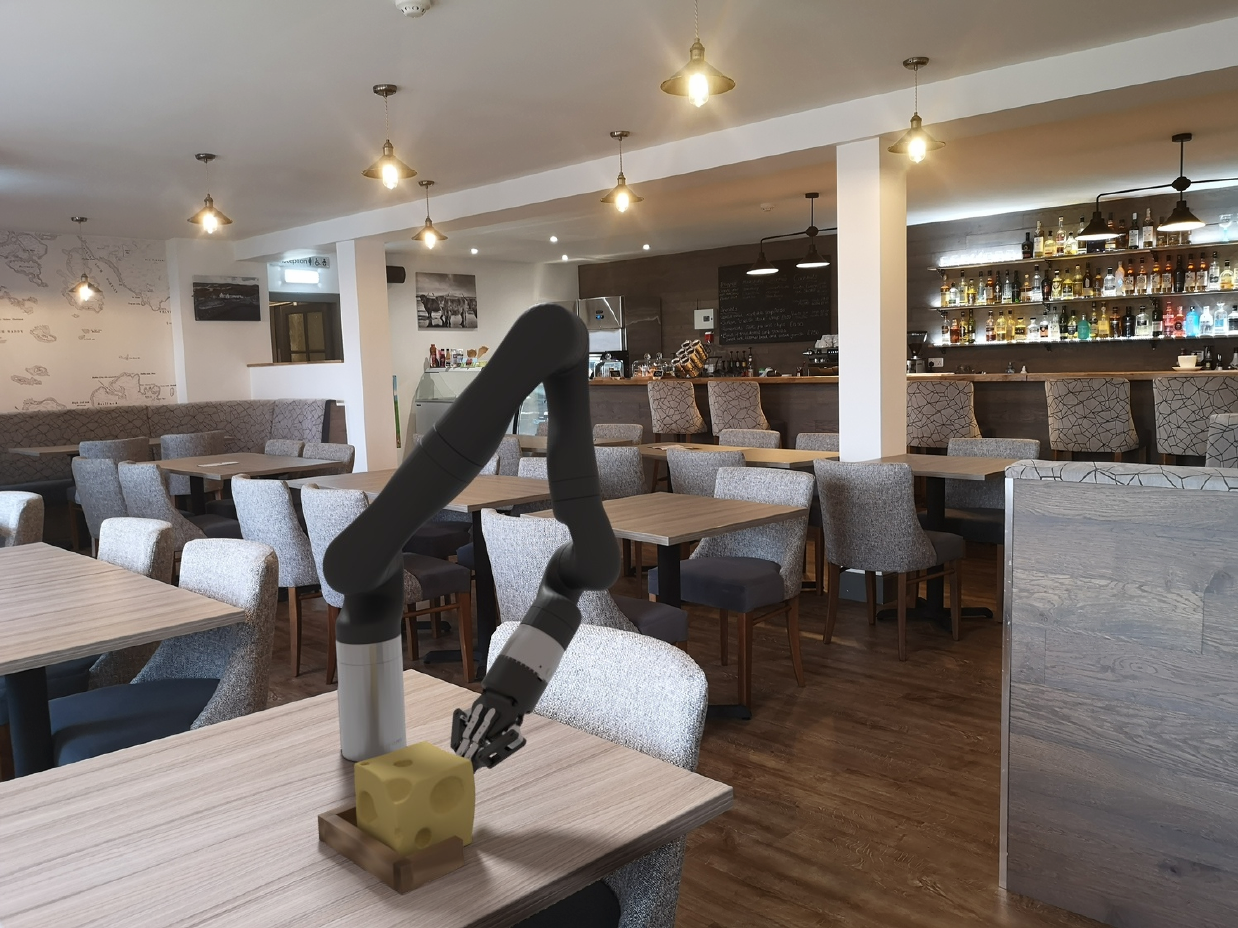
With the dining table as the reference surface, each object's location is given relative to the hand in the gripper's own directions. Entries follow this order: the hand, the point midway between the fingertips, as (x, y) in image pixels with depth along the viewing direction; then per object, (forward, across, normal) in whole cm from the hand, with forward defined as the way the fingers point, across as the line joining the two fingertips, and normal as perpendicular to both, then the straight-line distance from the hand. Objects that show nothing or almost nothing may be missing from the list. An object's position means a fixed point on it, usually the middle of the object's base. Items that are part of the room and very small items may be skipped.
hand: (450, 791), depth 113 cm
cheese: (+7, 0, -1) cm, 7 cm away
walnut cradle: (+9, 0, -3) cm, 10 cm away
